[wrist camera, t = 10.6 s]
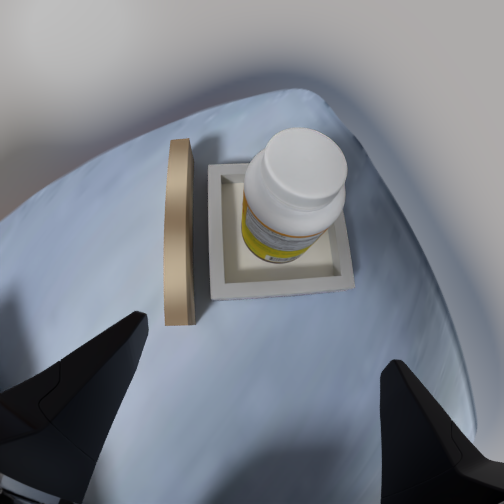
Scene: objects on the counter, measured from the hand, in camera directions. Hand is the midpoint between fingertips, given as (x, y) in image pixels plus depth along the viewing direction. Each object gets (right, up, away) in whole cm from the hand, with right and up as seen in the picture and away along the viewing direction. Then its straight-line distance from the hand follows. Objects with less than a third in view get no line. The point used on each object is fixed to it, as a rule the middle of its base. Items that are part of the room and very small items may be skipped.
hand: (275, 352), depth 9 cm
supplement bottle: (+1, +5, +13) cm, 14 cm away
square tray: (+1, +5, +13) cm, 14 cm away
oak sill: (-6, +5, +13) cm, 15 cm away
